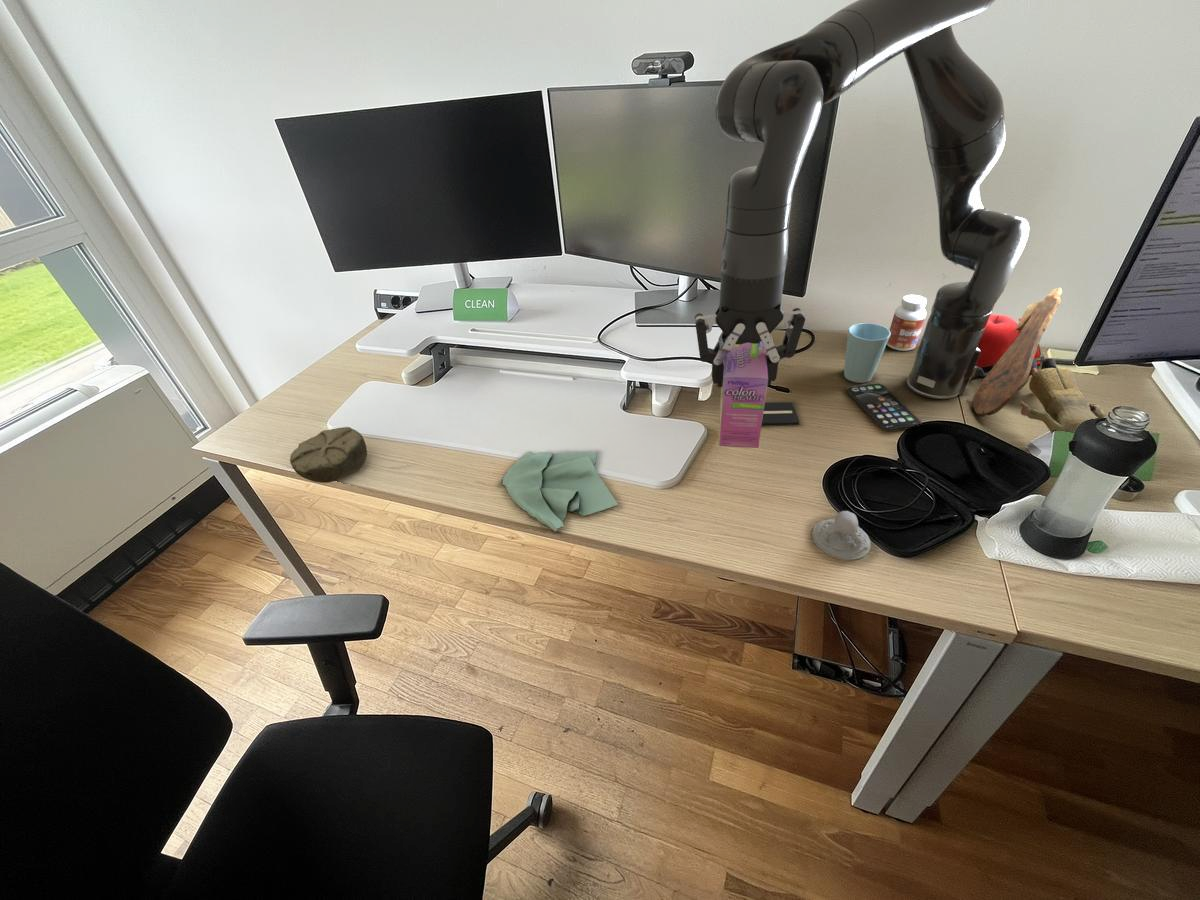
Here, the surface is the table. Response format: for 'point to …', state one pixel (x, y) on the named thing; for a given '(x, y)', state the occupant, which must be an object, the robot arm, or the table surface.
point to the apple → (996, 339)
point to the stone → (329, 455)
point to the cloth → (557, 486)
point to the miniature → (842, 537)
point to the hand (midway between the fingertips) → (742, 382)
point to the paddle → (1016, 358)
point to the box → (743, 395)
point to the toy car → (1037, 353)
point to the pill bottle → (907, 323)
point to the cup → (864, 350)
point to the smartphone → (883, 407)
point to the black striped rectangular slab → (779, 414)
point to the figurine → (1059, 399)
